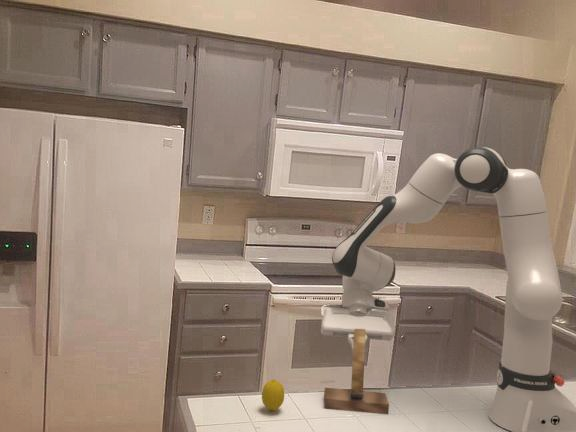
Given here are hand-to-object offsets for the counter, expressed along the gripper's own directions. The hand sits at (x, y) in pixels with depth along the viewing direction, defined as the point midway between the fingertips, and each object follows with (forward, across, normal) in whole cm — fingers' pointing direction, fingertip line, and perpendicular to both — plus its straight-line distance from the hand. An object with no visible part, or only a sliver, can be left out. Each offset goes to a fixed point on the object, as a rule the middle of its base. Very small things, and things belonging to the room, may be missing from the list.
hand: (357, 351), depth 140 cm
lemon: (+18, -21, -1) cm, 28 cm away
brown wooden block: (+13, 0, +4) cm, 14 cm away
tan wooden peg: (+12, 0, +1) cm, 12 cm away
